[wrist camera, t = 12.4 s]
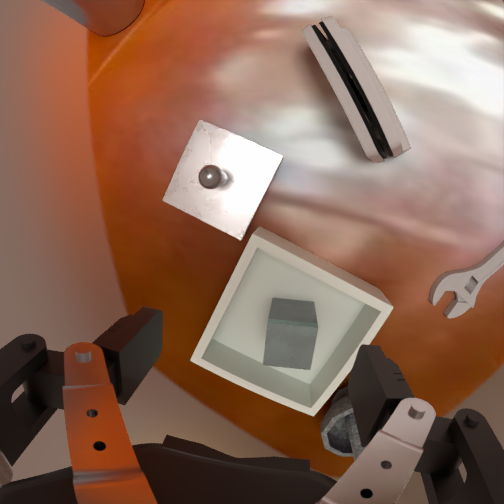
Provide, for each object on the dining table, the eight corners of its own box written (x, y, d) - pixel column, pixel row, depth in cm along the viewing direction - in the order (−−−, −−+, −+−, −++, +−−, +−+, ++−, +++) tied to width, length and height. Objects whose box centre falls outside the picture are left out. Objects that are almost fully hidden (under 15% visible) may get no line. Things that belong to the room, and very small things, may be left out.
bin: (204, 337, 38) (189, 360, 33) (259, 226, 35) (252, 233, 29) (312, 388, 38) (313, 416, 32) (379, 288, 34) (393, 307, 28)
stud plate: (169, 199, 35) (143, 202, 29) (204, 123, 33) (184, 109, 27) (243, 237, 35) (232, 248, 29) (283, 158, 33) (280, 150, 26)
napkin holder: (411, 151, 31) (418, 151, 22) (375, 164, 33) (369, 169, 25) (348, 30, 28) (331, -5, 20) (315, 45, 31) (289, 15, 22)
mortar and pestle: (314, 382, 38) (317, 445, 26) (382, 365, 36) (406, 423, 24) (327, 436, 40) (331, 496, 28) (386, 421, 38) (404, 478, 26)
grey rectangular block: (272, 297, 35) (267, 322, 28) (314, 301, 35) (318, 327, 28) (268, 334, 36) (262, 365, 29) (308, 338, 36) (310, 369, 29)
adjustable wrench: (542, 199, 29) (549, 200, 27) (550, 237, 29) (557, 239, 28) (424, 283, 34) (430, 287, 32) (437, 323, 34) (442, 328, 33)
